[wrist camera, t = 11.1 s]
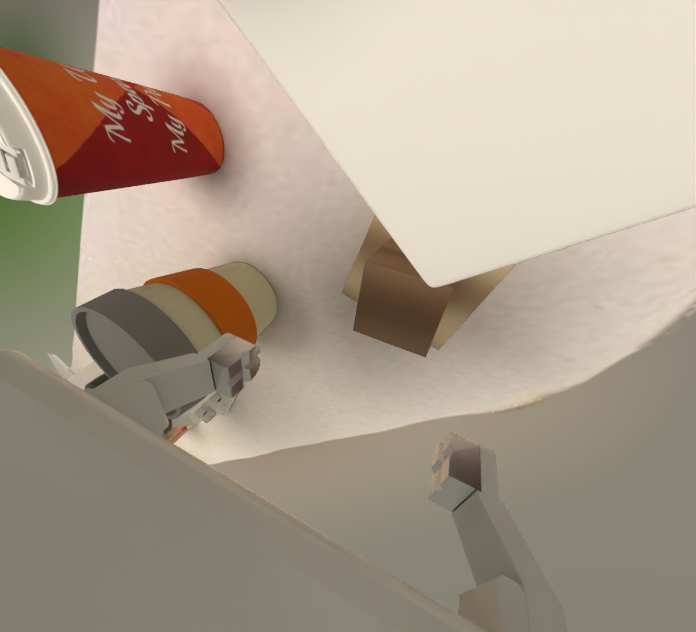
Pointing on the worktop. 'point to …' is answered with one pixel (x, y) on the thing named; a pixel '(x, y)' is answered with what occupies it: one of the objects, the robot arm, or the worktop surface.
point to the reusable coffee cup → (174, 317)
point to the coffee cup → (94, 132)
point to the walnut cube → (399, 302)
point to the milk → (493, 116)
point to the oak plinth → (461, 299)
